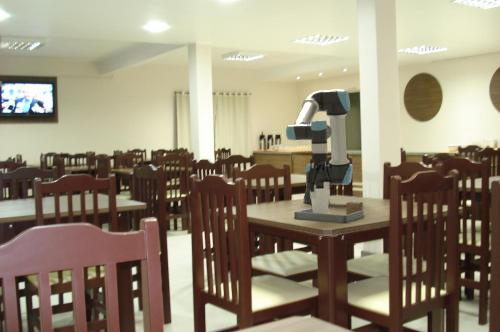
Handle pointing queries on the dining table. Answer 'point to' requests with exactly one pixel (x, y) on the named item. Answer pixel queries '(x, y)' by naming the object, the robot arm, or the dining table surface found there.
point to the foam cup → (321, 201)
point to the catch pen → (327, 216)
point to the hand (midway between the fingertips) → (320, 197)
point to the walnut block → (353, 207)
